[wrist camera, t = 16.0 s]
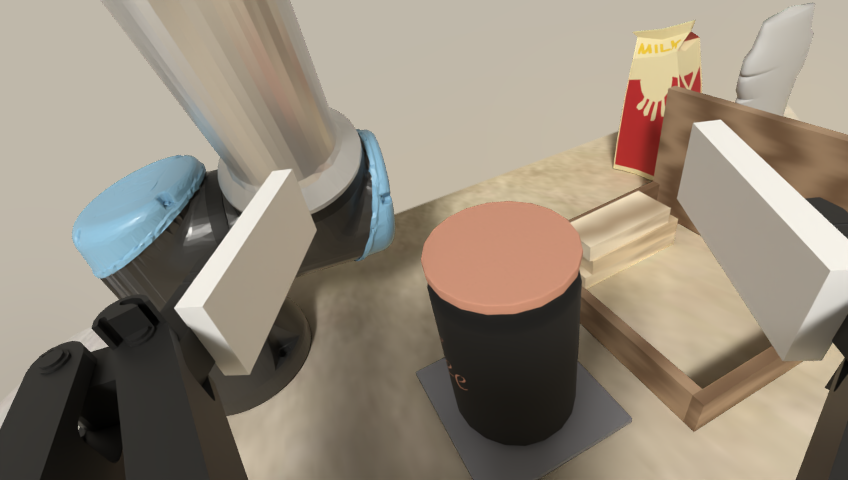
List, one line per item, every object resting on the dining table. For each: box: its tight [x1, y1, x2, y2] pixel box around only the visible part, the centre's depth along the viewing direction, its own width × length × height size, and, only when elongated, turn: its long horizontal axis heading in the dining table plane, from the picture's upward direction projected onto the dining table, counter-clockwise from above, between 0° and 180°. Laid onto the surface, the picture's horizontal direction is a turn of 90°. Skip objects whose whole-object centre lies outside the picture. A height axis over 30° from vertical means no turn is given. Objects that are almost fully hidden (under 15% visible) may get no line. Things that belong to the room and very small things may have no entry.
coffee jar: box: [421, 201, 583, 446], centre depth 35 cm, size 11×11×18 cm
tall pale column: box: [735, 3, 815, 116], centre depth 51 cm, size 11×4×22 cm, turn 118°
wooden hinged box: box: [568, 86, 848, 431], centre depth 42 cm, size 24×21×16 cm
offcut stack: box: [571, 191, 678, 289], centre depth 51 cm, size 5×13×6 cm, turn 114°
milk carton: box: [613, 20, 702, 181], centre depth 60 cm, size 9×9×20 cm
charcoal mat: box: [416, 357, 632, 480], centre depth 41 cm, size 14×14×1 cm
